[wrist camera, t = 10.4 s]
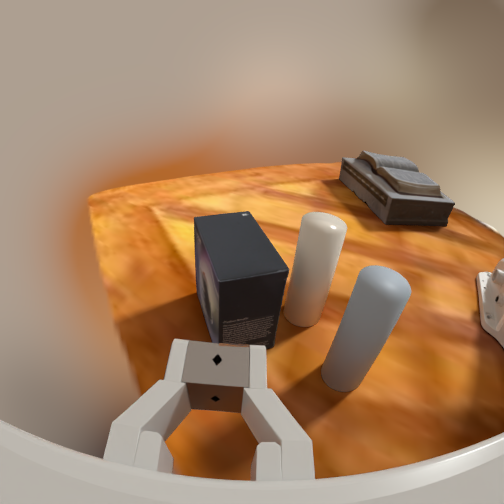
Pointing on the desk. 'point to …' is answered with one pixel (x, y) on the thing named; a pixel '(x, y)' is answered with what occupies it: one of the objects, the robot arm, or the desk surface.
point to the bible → (396, 190)
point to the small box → (238, 279)
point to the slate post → (365, 326)
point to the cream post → (313, 267)
